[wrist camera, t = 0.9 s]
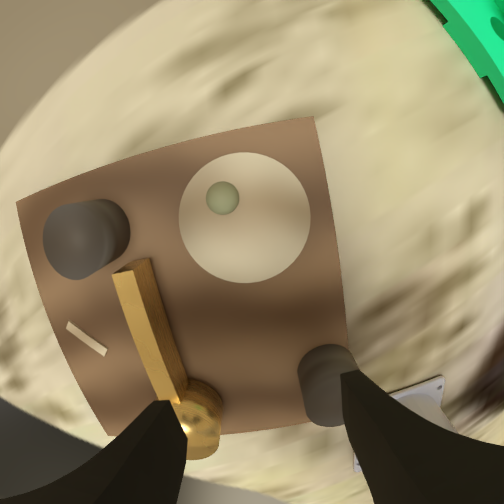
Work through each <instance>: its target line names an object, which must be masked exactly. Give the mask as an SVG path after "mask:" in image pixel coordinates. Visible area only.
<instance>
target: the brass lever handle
mask: <svg viewBox="0 0 504 504" xmlns="http://www.w3.org/2000/svg"><path fill="white" fill-rule="evenodd" d="M112 278H113V281H114V285H115V288H116V291H117V294H118V297H119V300H120V303H121V306H122V309H123V312H124V315H125V318H126V320H127V323H128V326H129V329H130V331H131V334H132V337H133V339H134V342H135V345H136V347H137V350H138V352H139V355H140V357H141V360H142V362H143V365H144V367H145V369H146V372H147V374H148V376H149V379H150V381H151V383H152V386H153V388H154V390H155V392H156V394H157V397H156V399H155V401H156V400H170V402H171V405H172V407H173V409H174V411H175V413H176V415H177V417H178V420H179V422H180V424H181V426H182V428H183V430H184V432H185V434H186V436H187V438H188V444H187V457H186V460H198V459H203V458H206V457H209V456H211V455H212V454H213V453H215V451H216V450H217V449H218V446H219V439H220V431H221V423H222V415H223V403H222V400H221V398H220V396H219V395H218V394H217V392H216V391H214V390H213V389H212V388H211V387H209V386H208V385H206V384H204V383H202V382H199V381H196V380H191V379H188V377H187V375H186V372H185V369H184V367H183V364H182V361H181V358H180V355H179V353H178V350H177V347H176V344H175V341H174V338H173V335H172V332H171V329H170V326H169V323H168V320H167V317H166V314H165V311H164V308H163V304H162V301H161V298H160V294H159V291H158V288H157V284H156V281H155V277H154V274H153V270H152V267H151V263H150V259H149V258H146V259H141V260H136V261H132V262H129V263H127V264H126V265H124V266H123V267H122V268H120V269H119V270H117V271H116V272H114V273H113V274H112Z"/></svg>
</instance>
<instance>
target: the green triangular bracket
mask: <svg viewBox="0 0 504 504" xmlns="http://www.w3.org/2000/svg"><path fill="white" fill-rule="evenodd" d="M430 1H431V2H432V3H433V4H434V5H435V6H436V8H437V9H438V10H439V11H440V12H441V13H442V14H443V16H444V17H445V18H446V19H447V20H448V22H447V23H446V24H444V25H443V27H444V28H445V30H446V31H447V32H448V33H449V35H450V36H451V37H452V39H453V40H454V41H455V43H456V44H457V45H458V47H459V48H460V49H461V51H462V52H463V53H464V55H465V56H466V58H467V59H468V61H469V62H470V63H471V65H472V66H473V68H474V69H475V71H476V73H477V74H478V76H479V77H480V78H481V77H484V76H488V78H489V79H490V81H491V83H492V84H493V86H494V88H495V89H496V91H497V93H498V94H499V96H500V98H501V100H502V102H503V104H504V0H430Z"/></svg>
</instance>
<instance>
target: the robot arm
mask: <svg viewBox="0 0 504 504" xmlns="http://www.w3.org/2000/svg"><path fill="white" fill-rule="evenodd" d="M340 380H341V395H342V413H343V420H344V423H345V427H346V430H347V434H348V438H349V441H350V443H351V446H352V448H353V450H354V462H353V469H354V471H355V472H360V471H362V472H363V474H364V477H365V479H366V481H367V484H368V486H369V489H370V491H371V494H372V497H373V501H374V504H504V446H500V445H495V444H490V443H486V442H482V441H478V440H475V439H472V438H469V437H466V436H463V435H460V434H458V432H457V431H456V429H455V428H454V427H453V425H452V424H451V422H450V421H449V419H448V418H447V417H446V415H445V414H444V413H443V411H442V410H441V408H440V405H441V400H442V395H443V390H444V385H445V378H444V377H443V376H438V377H436V378H433V379H431V380H428V381H426V382H423V383H420V384H417V385H415V386H412V387H409V388H406V389H403V390H400V391H397V392H394V393H391V394H387V393H386V392H385V391H384V390H382V389H381V388H380V387H379V386H377V385H376V384H375V383H374V382H373V381H372V380H370V379H369V378H368V377H367V376H366V375H365V374H364V373H362V372H361V371H360V370H358V369H357V370H353V371H349V372H346V373H342V374H340ZM438 386H439V387H438ZM187 444H188V438H187V436H186V434H185V432H184V430H183V428H182V426H181V424H180V422H179V420H178V417H177V415H176V413H175V411H174V409H173V407H172V405H171V402H170V400H156V401H153V402H152V403H151V404H149V405H148V406H147V407H146V408H145V409H144V410H143V411H142V412H141V413H140V414H139V415H138V416H137V417H136V418H135V419H134V420H133V421H132V422H131V423H130V424H129V425H128V426H127V427H126V428H125V429H124V430H123V431H122V432H121V433H120V434H119V435H118V436H117V437H116V438H115V439H114V440H113V441H112V442H110V443H109V444H108V445H107V446H106V447H105V448H104V449H102V450H101V451H100V452H99V453H98V454H96V455H95V456H94V457H93V458H91V459H90V460H89V461H87V462H86V463H84V464H83V465H82V466H80V467H79V468H77V469H76V470H74V471H72V472H71V473H69V474H67V475H65V476H63V477H62V478H60V479H58V480H56V481H54V482H52V483H50V484H48V485H46V486H43V487H41V488H38V489H36V490H33V491H30V492H28V493H24V494H21V495H17V496H13V497H9V498H5V499H0V504H176V502H177V498H178V494H179V490H180V485H181V482H182V478H183V473H184V469H185V464H186V457H187Z"/></svg>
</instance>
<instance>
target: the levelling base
mask: <svg viewBox="0 0 504 504" xmlns="http://www.w3.org/2000/svg"><path fill="white" fill-rule="evenodd" d="M16 205H17V211H18V216H19V220H20V225H21V230H22V234H23V238H24V242H25V246H26V250H27V254H28V257H29V261H30V264H31V268H32V271H33V275H34V278H35V281H36V284H37V287H38V290H39V293H40V296H41V299H42V302H43V305H44V307H45V310H46V313H47V316H48V318H49V321H50V323H51V326H52V328H53V331H54V333H55V336H56V338H57V340H58V343H59V345H60V347H61V349H62V352H63V354H64V356H65V358H66V360H67V363H68V365H69V367H70V369H71V371H72V373H73V375H74V377H75V379H76V381H77V383H78V385H79V387H80V389H81V390H82V392H83V394H84V396H85V398H86V400H87V401H88V403H89V405H90V407H91V409H92V410H93V412H94V414H95V415H96V417H97V419H98V420H99V422H100V424H101V425H102V427H103V429H104V430H105V432H106V433H107V435H108V436H118V435H119V434H120V433H121V432H122V431H123V430H124V429H125V428H126V427H127V426H128V425H129V424H130V423H131V422H132V421H133V420H134V419H135V418H136V417H137V416H138V415H139V414H140V413H141V412H142V411H143V410H144V409H145V408H146V407H147V406H148V405H149V404H151V403H152V402H153V401H155V399H156V397H157V394H156V392H155V390H154V388H153V386H152V383H151V381H150V379H149V376H148V374H147V372H146V369H145V367H144V365H143V362H142V360H141V357H140V355H139V352H138V350H137V347H136V345H135V342H134V339H133V337H132V334H131V331H130V329H129V326H128V323H127V320H126V318H125V315H124V312H123V309H122V306H121V303H120V300H119V297H118V294H117V291H116V288H115V285H114V281H113V278H112V274H113V273H114V272H116V271H117V270H119V269H120V268H122V267H123V266H124V265H126V264H127V263H129V262H132V261H136V260H141V259H146V258H149V259H150V263H151V267H152V270H153V274H154V277H155V281H156V284H157V288H158V291H159V294H160V298H161V301H162V304H163V308H164V311H165V314H166V317H167V320H168V323H169V326H170V329H171V332H172V335H173V338H174V341H175V344H176V347H177V350H178V353H179V355H180V358H181V361H182V364H183V367H184V369H185V372H186V375H187V377H188V379H191V380H196V381H199V382H202V383H204V384H206V385H208V386H209V387H211V388H212V389H213V390H214V391H216V392H217V394H218V395H219V396H220V398H221V400H222V403H223V415H222V423H221V431H220V435H224V434H234V433H244V432H252V431H259V430H267V429H273V428H279V427H285V426H291V425H297V424H302V423H307V422H313V423H315V424H317V425H320V426H325V427H334V426H340V425H343V424H345V423H344V420H343V413H342V395H341V380H340V374H342V373H346V372H349V371H353V370H357V369H358V370H360V369H359V368H358V366H357V364H356V362H355V360H354V358H353V356H352V354H351V353H350V351H349V350H348V339H347V327H346V316H345V305H344V296H343V287H342V278H341V270H340V262H339V254H338V247H337V240H336V233H335V227H334V220H333V214H332V208H331V202H330V196H329V191H328V185H327V180H326V174H325V169H324V164H323V159H322V154H321V149H320V144H319V140H318V135H317V130H316V126H315V122H314V117H313V116H312V117H304V118H297V119H291V120H284V121H278V122H272V123H267V124H261V125H256V126H251V127H246V128H241V129H236V130H231V131H226V132H222V133H217V134H213V135H209V136H205V137H200V138H196V139H192V140H189V141H185V142H181V143H177V144H173V145H170V146H166V147H163V148H159V149H156V150H152V151H149V152H146V153H142V154H139V155H136V156H133V157H129V158H126V159H123V160H120V161H117V162H114V163H111V164H108V165H106V166H103V167H100V168H97V169H94V170H92V171H89V172H86V173H83V174H81V175H78V176H76V177H73V178H70V179H68V180H65V181H63V182H60V183H58V184H55V185H53V186H51V187H48V188H46V189H44V190H41V191H39V192H37V193H34V194H32V195H30V196H28V197H26V198H23V199H21V200H19V201H17V202H16Z"/></svg>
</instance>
